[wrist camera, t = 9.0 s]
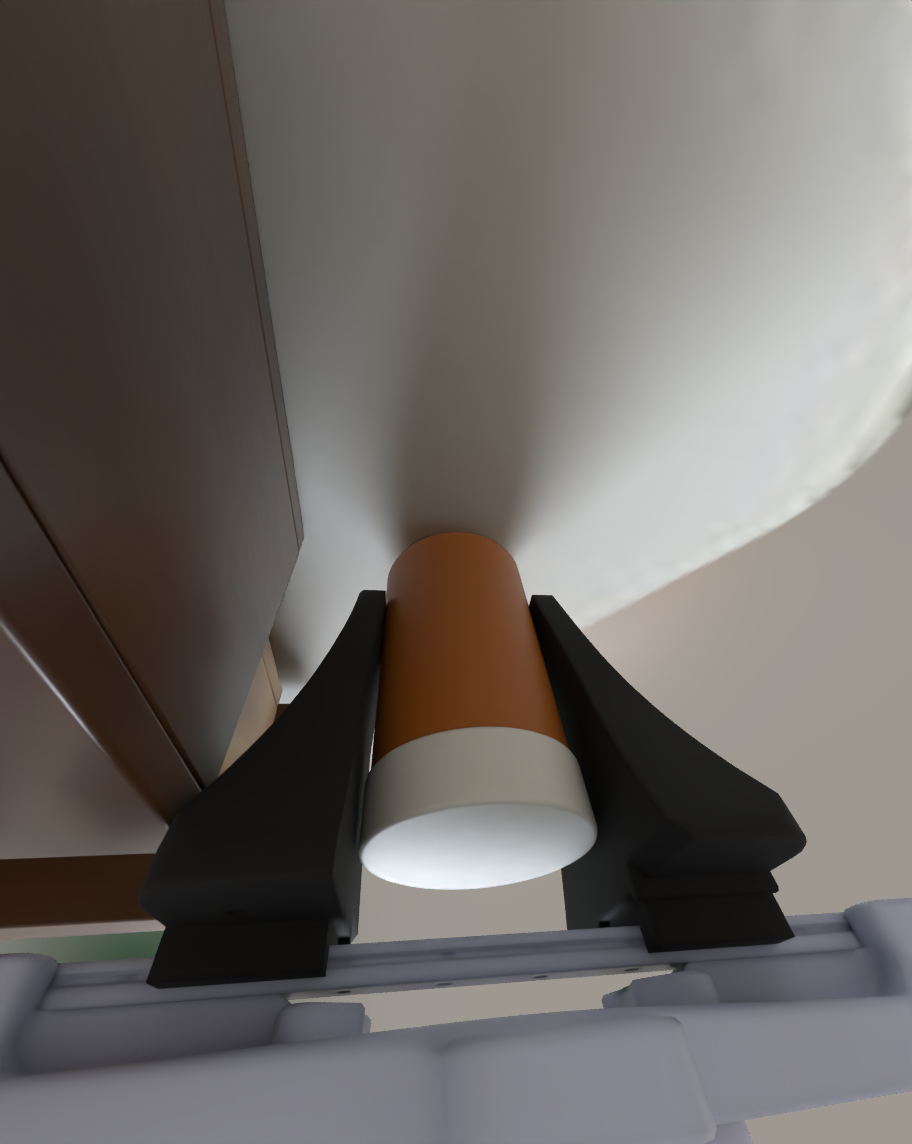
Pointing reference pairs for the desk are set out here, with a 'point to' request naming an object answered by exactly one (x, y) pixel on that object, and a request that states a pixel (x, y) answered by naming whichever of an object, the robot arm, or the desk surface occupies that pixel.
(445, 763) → the pill bottle
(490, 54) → the desk surface
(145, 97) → the cabinet
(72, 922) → the drawer
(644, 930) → the robot arm
